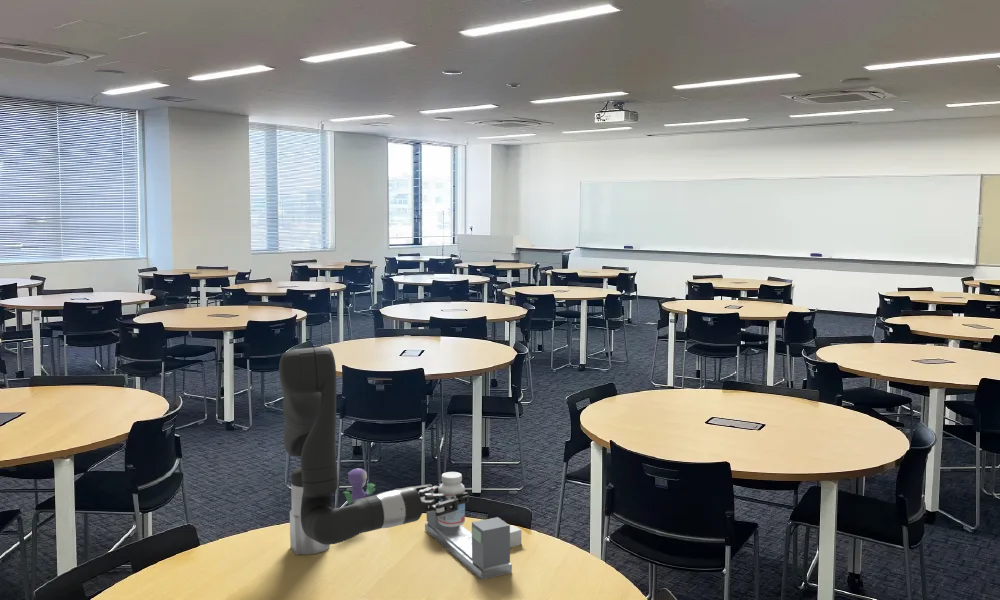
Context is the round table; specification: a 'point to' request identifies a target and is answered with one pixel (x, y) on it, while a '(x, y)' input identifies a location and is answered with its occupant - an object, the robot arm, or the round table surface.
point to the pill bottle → (449, 487)
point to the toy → (358, 485)
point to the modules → (486, 540)
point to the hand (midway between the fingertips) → (460, 492)
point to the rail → (464, 549)
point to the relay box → (515, 536)
